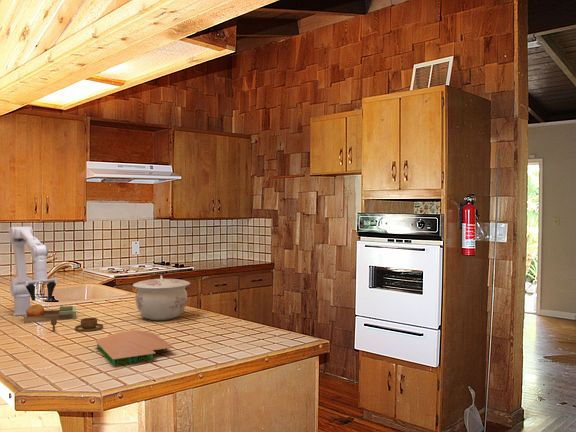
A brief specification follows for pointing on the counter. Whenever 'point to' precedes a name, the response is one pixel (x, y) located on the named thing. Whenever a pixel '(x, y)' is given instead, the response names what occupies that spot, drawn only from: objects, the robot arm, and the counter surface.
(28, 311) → the fruit
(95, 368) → the counter surface
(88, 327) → the place setting
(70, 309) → the chute
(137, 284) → the chamber pot
